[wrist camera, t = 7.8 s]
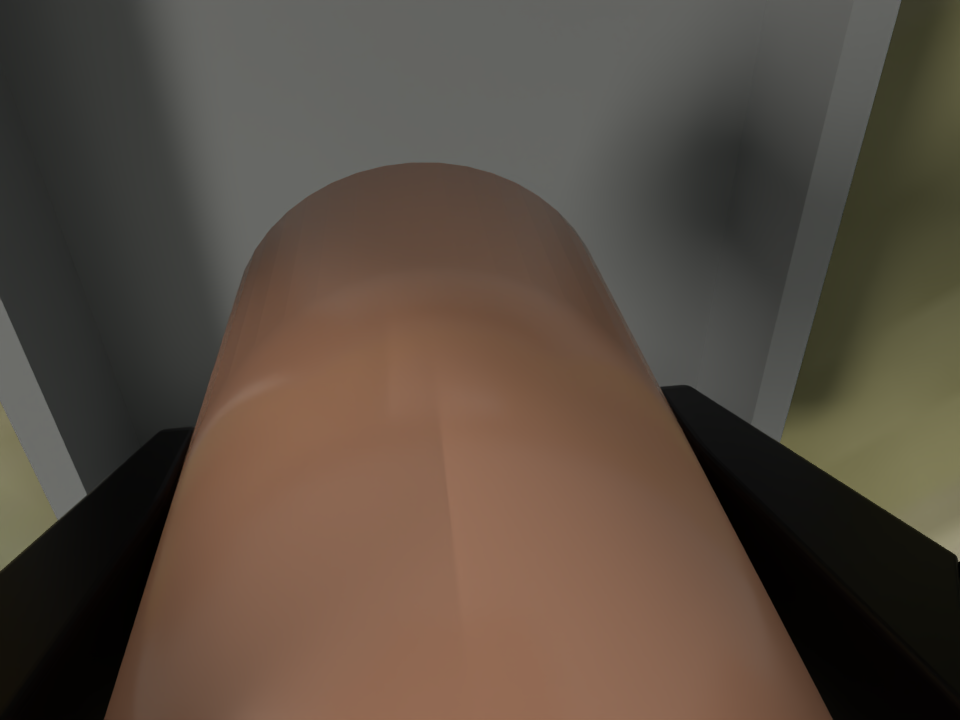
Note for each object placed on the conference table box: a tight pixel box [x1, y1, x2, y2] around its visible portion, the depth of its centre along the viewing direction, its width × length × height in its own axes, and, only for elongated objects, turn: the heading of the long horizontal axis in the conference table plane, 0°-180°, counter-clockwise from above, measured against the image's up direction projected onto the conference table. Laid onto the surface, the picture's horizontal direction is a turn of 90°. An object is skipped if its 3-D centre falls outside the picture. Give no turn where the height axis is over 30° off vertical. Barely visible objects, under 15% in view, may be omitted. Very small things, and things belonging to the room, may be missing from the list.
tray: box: [0, 0, 901, 520], centre depth 15 cm, size 16×16×4 cm
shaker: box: [104, 163, 833, 720], centre depth 7 cm, size 5×5×8 cm
